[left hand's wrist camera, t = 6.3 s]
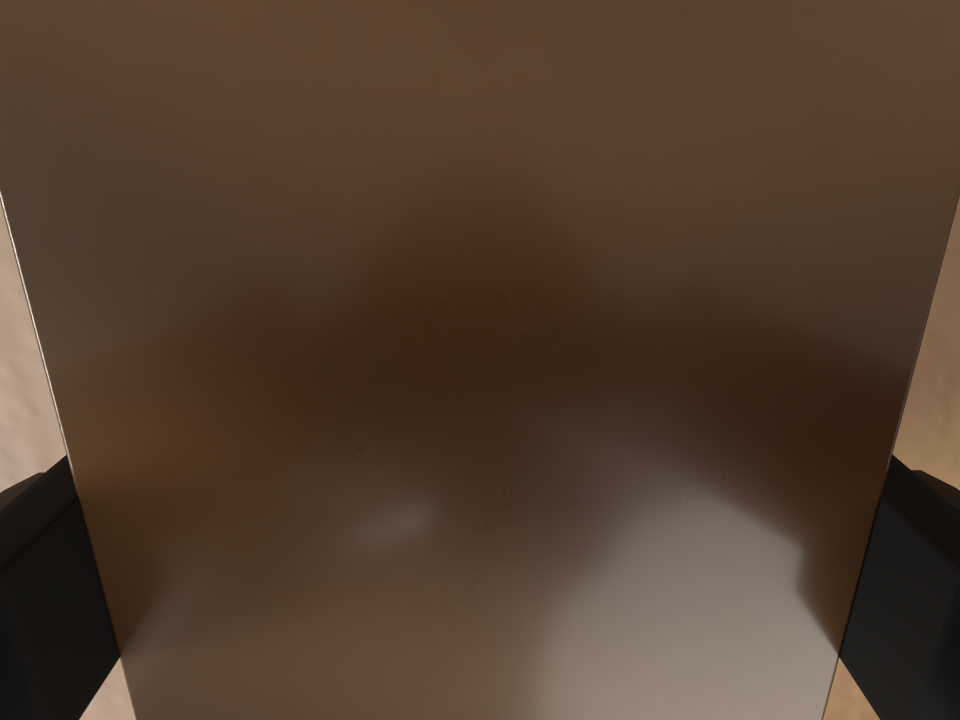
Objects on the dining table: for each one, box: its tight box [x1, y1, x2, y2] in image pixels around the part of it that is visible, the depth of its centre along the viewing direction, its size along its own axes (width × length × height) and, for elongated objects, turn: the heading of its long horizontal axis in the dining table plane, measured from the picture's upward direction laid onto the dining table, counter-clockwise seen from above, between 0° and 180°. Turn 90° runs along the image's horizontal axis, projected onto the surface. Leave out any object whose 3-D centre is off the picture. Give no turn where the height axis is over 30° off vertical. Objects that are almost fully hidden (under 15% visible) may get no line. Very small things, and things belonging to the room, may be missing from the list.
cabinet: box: [0, 0, 960, 720], centre depth 12 cm, size 16×10×10 cm, turn 0°
